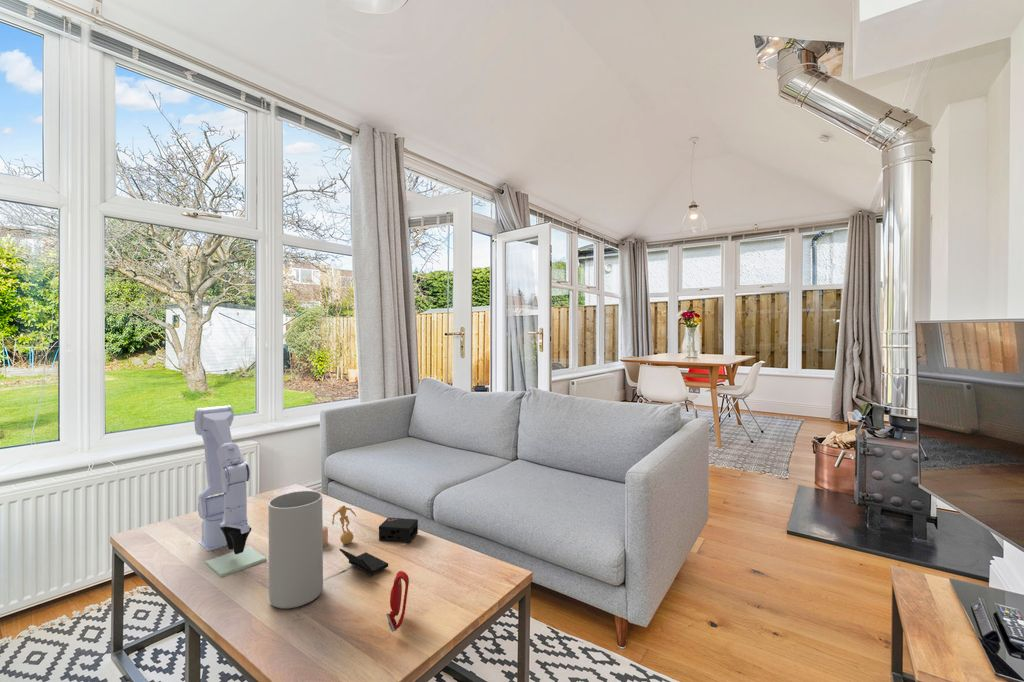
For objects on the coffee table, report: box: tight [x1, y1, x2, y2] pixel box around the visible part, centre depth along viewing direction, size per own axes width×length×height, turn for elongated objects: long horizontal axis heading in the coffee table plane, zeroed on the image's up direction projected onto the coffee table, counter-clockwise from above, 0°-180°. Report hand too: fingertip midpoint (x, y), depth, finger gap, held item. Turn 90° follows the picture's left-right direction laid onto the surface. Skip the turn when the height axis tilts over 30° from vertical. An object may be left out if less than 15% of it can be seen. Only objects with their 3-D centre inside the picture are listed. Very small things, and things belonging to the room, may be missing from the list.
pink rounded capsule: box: [323, 526, 329, 548], centre depth 142 cm, size 5×5×5 cm
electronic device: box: [378, 517, 419, 544], centre depth 148 cm, size 7×11×5 cm
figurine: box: [331, 505, 357, 545], centre depth 144 cm, size 8×6×12 cm
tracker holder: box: [385, 570, 410, 633], centre depth 105 cm, size 12×4×10 cm, turn 5°
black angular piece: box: [338, 548, 389, 576], centre depth 128 cm, size 12×7×10 cm
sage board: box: [204, 545, 267, 578], centre depth 131 cm, size 12×12×1 cm
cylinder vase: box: [267, 490, 324, 610], centre depth 115 cm, size 12×12×25 cm
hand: (235, 550), depth 131 cm, fingers open, 4 cm apart
